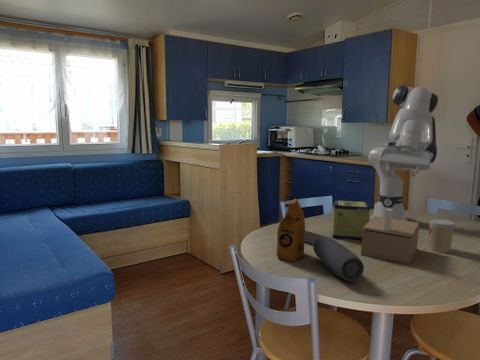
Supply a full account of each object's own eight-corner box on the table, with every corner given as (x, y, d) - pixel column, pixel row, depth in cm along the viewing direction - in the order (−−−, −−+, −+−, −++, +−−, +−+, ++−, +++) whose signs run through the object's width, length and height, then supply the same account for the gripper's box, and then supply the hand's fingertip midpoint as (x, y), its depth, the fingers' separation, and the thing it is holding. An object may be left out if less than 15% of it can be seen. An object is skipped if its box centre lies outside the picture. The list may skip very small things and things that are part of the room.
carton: (372, 241, 170) (374, 219, 169) (416, 249, 161) (419, 226, 159) (360, 254, 153) (362, 230, 152) (409, 264, 144) (411, 238, 142)
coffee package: (272, 258, 148) (273, 202, 145) (284, 249, 159) (286, 196, 155) (296, 263, 143) (298, 206, 140) (307, 253, 154) (310, 199, 150)
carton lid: (374, 218, 168) (375, 198, 167) (419, 224, 159) (421, 203, 158) (362, 229, 152) (364, 207, 150) (411, 237, 142) (413, 213, 141)
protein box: (368, 241, 171) (370, 206, 168) (332, 238, 174) (334, 204, 172) (365, 234, 181) (367, 201, 179) (331, 231, 184) (333, 199, 182)
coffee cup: (431, 244, 167) (434, 217, 166) (455, 249, 161) (458, 222, 159) (423, 249, 161) (426, 221, 159) (447, 255, 154) (450, 226, 152)
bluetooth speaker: (364, 283, 126) (366, 255, 125) (338, 286, 125) (340, 256, 123) (333, 259, 148) (335, 234, 147) (311, 260, 146) (312, 235, 145)
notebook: (278, 236, 178) (315, 248, 162) (278, 232, 177) (315, 244, 162) (295, 230, 186) (333, 241, 171) (295, 227, 186) (333, 238, 170)
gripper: (433, 156, 162) (428, 182, 155) (382, 152, 172) (375, 175, 165) (434, 146, 157) (429, 172, 150) (382, 142, 167) (374, 166, 160)
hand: (400, 174), depth 158 cm, fingers open, 8 cm apart
